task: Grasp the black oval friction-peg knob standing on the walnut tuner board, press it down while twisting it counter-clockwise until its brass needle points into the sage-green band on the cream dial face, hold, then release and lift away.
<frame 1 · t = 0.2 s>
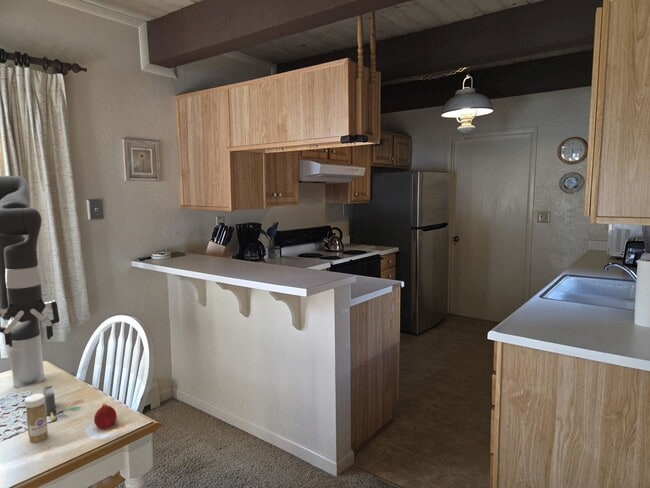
hand: (30, 342, 116), 28 cm above the table, fingers open, 8 cm apart
tuner board: (59, 414, 133), on the table
peg knob: (50, 403, 131), point 5 cm above the table, hinge at 0.0°
sprinkles bottle: (39, 443, 118), on the table
onion: (106, 430, 125), on the table
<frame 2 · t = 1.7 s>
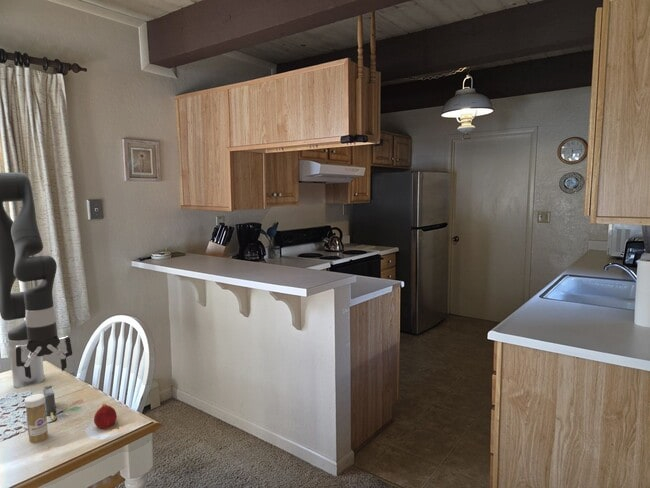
hand: (46, 373, 131), 13 cm above the table, fingers open, 8 cm apart
nothing on the table moved.
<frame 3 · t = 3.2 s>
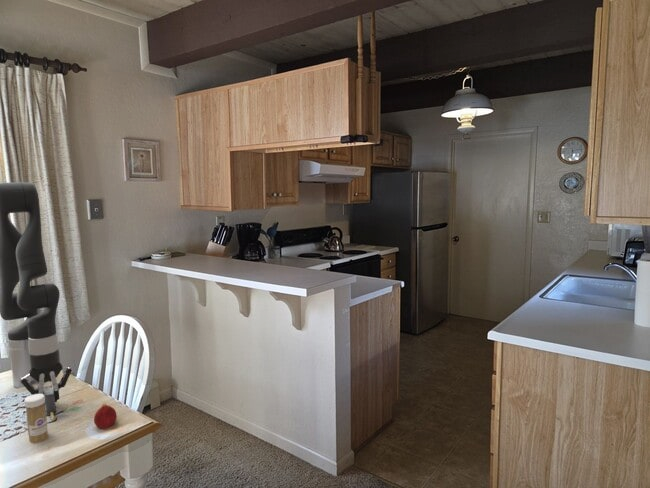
hand: (49, 402, 133), 4 cm above the table, fingers closed on peg knob, 2 cm apart
peg knob: (50, 403, 131), point 5 cm above the table, hinge at 0.0°, touching gripper
everything else where it was.
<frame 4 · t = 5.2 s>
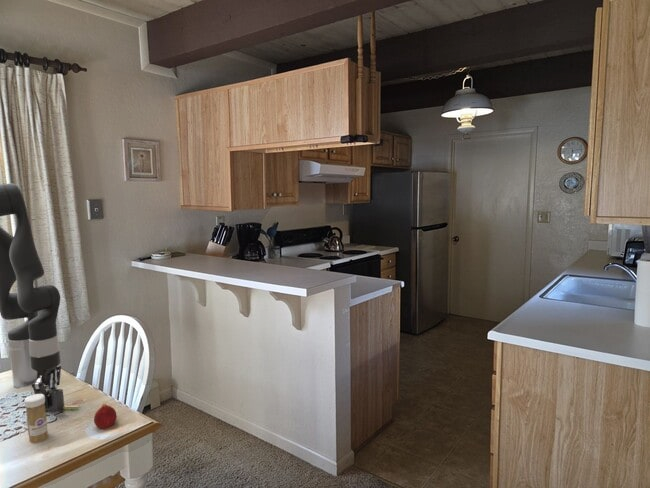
hand: (50, 404, 133), 3 cm above the table, fingers closed on peg knob, 3 cm apart
peg knob: (56, 400, 133), point 4 cm above the table, hinge at 53.8°, touching gripper
everything else where it was.
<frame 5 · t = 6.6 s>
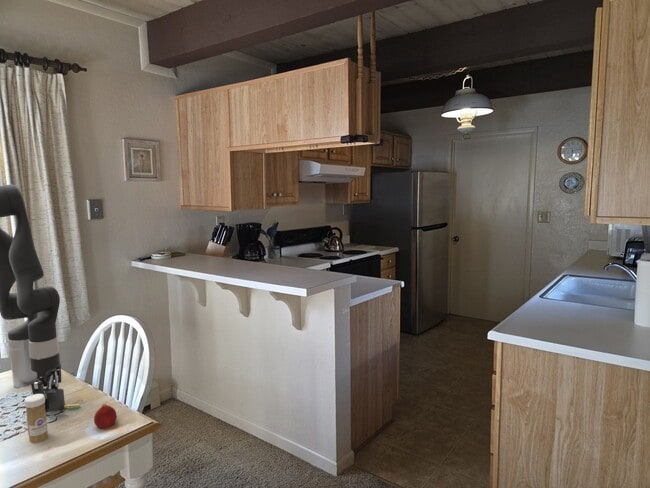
hand: (49, 404, 133), 3 cm above the table, fingers open, 6 cm apart
peg knob: (57, 399, 133), point 5 cm above the table, hinge at 60.5°
everything else where it was.
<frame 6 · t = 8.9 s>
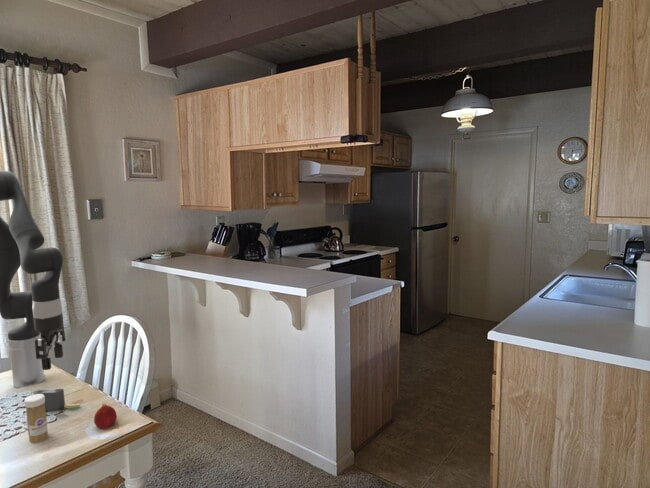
hand: (53, 363, 134), 15 cm above the table, fingers open, 8 cm apart
peg knob: (57, 399, 133), point 5 cm above the table, hinge at 61.0°
everything else where it was.
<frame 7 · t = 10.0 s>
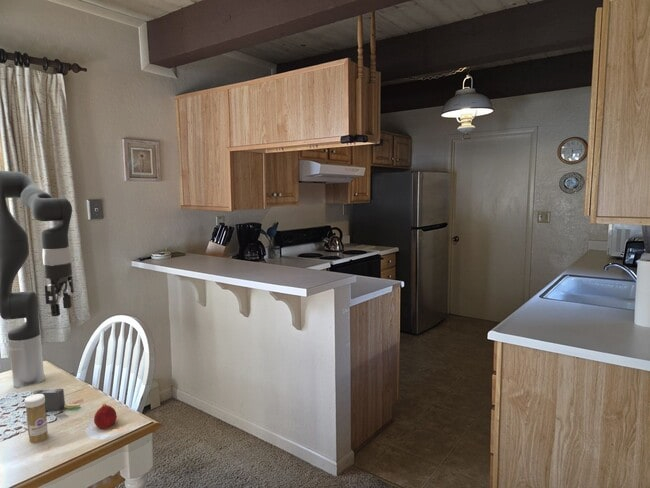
hand: (62, 311, 137), 30 cm above the table, fingers open, 8 cm apart
nothing on the table moved.
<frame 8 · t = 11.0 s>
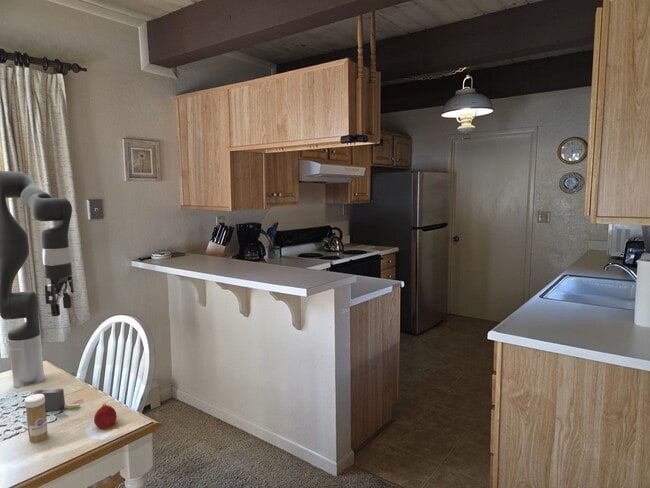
hand: (62, 311, 137), 30 cm above the table, fingers open, 8 cm apart
nothing on the table moved.
at the end: peg knob at +61° (first picture: +0°); the gripper is holding nothing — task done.
